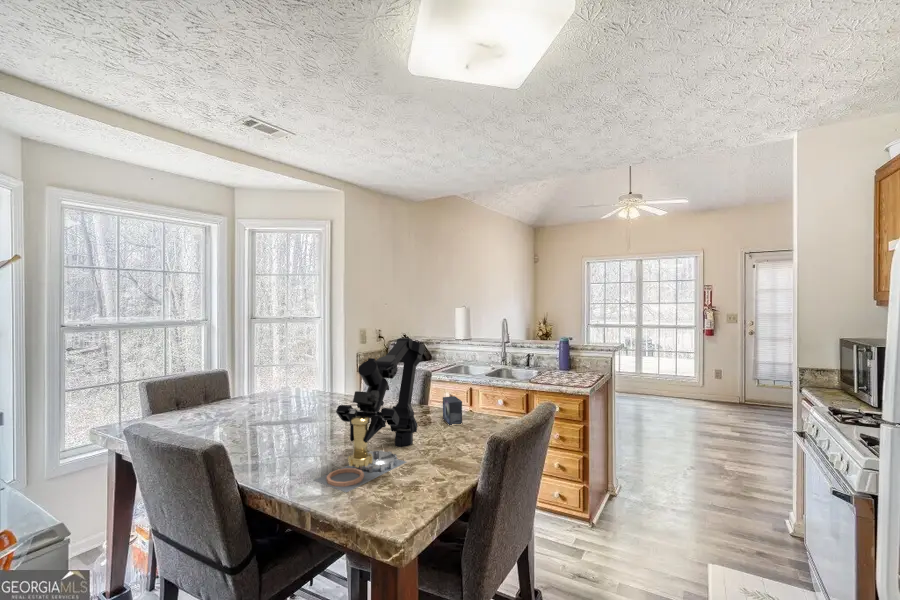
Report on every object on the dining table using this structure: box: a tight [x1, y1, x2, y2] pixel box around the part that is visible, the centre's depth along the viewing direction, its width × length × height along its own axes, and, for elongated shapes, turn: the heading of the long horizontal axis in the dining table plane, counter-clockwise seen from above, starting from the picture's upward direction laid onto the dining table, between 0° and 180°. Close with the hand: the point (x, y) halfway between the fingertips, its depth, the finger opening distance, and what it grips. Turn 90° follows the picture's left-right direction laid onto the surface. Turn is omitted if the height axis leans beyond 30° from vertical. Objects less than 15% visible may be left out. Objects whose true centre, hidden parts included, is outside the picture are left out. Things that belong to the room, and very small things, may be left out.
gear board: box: [313, 458, 407, 493], centre depth 128 cm, size 26×14×2 cm, turn 147°
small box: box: [442, 395, 463, 426], centre depth 185 cm, size 11×6×10 cm, turn 17°
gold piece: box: [347, 416, 373, 467], centre depth 120 cm, size 7×7×13 cm
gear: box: [355, 450, 398, 473], centre depth 133 cm, size 13×13×4 cm
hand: (358, 441), depth 119 cm, fingers closed on gold piece, 4 cm apart
